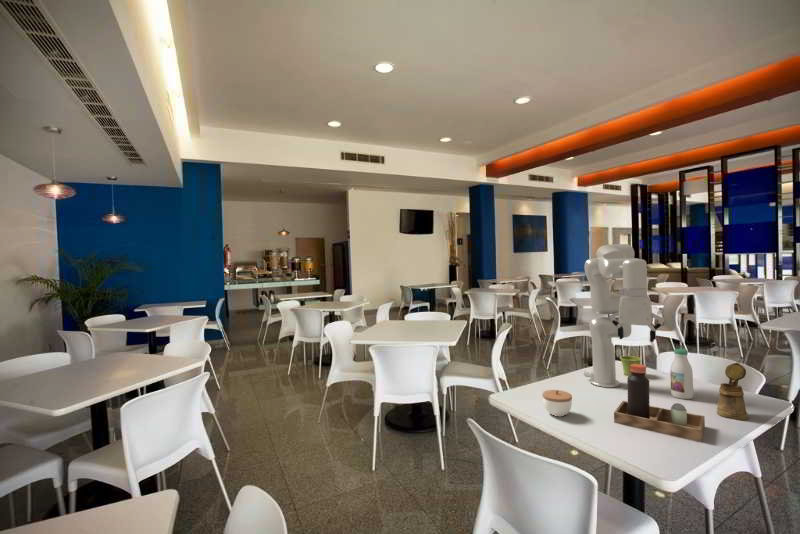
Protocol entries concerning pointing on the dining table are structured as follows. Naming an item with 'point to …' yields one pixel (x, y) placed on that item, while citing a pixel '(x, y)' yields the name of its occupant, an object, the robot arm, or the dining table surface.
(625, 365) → the plant pot
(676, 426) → the caddy
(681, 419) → the shaker
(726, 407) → the burlap money sack
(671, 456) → the dining table surface
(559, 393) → the lidded jar
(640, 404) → the vinegar
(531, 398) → the dining table surface
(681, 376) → the milk bottle
